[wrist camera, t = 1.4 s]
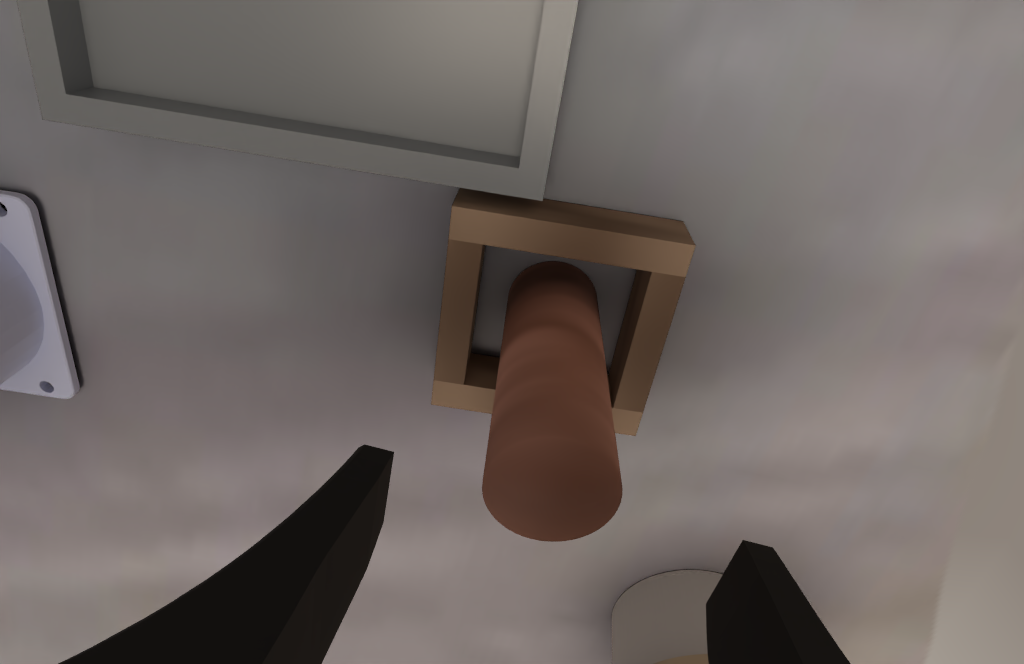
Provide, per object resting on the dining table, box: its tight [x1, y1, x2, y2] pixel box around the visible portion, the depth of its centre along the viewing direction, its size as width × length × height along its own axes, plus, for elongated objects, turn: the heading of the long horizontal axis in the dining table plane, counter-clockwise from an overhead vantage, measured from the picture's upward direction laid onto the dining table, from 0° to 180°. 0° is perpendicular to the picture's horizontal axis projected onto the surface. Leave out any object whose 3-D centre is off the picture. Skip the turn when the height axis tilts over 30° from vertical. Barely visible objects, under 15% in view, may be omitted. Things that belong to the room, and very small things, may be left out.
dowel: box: [482, 261, 622, 541], centre depth 17 cm, size 3×3×9 cm
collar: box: [431, 188, 696, 436], centre depth 21 cm, size 7×7×2 cm
